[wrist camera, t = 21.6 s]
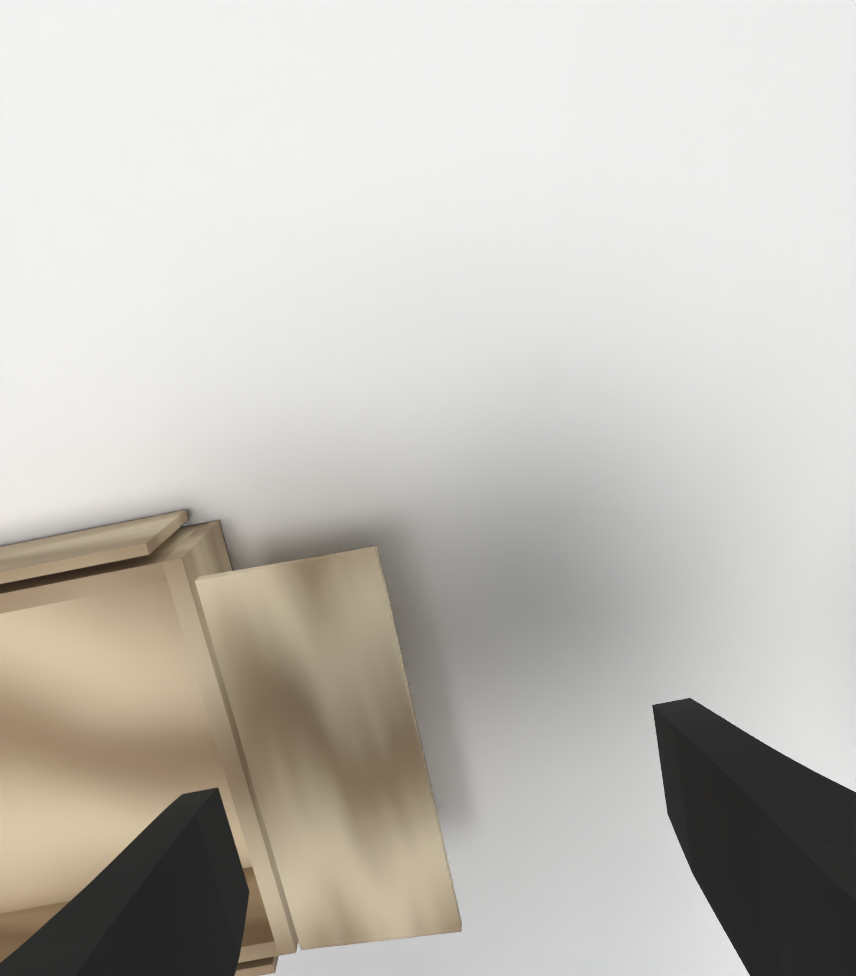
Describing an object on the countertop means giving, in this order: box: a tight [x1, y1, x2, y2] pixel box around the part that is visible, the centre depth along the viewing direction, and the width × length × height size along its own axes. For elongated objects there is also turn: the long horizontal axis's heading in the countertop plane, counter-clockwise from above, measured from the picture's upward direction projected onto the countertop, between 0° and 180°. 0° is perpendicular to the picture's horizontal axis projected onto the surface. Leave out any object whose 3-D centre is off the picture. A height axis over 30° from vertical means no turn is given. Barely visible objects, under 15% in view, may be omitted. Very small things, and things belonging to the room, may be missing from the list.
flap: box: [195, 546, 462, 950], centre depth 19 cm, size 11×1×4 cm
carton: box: [0, 510, 298, 976], centre depth 21 cm, size 13×15×4 cm
